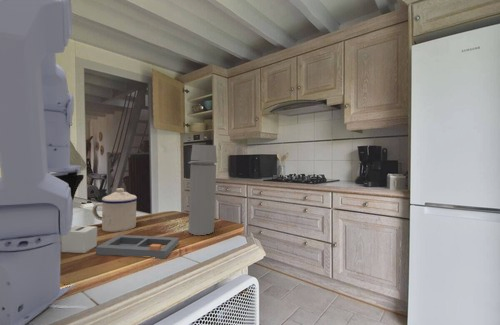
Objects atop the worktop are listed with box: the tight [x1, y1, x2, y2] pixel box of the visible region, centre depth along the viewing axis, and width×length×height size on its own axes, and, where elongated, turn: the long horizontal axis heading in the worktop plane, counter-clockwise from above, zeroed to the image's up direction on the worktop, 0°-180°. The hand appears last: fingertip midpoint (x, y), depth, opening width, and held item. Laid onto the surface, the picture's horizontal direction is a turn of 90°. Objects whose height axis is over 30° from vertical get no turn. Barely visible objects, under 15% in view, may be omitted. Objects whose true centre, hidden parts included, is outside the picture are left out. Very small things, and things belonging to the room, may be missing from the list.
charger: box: [61, 225, 98, 254], centre depth 52 cm, size 4×5×5 cm
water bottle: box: [187, 144, 218, 236], centre depth 67 cm, size 9×8×25 cm
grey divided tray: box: [95, 234, 180, 260], centre depth 54 cm, size 8×15×3 cm, turn 87°
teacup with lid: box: [92, 187, 138, 233], centre depth 68 cm, size 12×9×12 cm
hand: (52, 210), depth 50 cm, fingers open, 7 cm apart
